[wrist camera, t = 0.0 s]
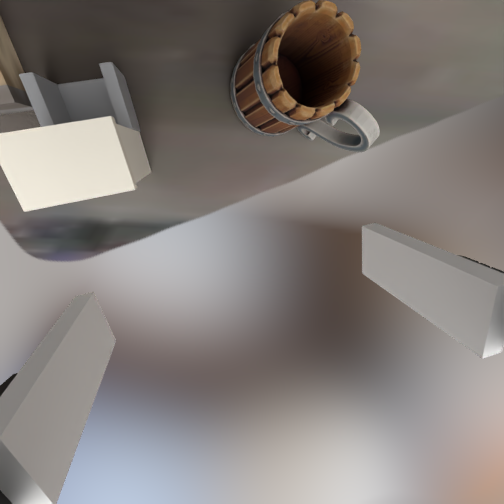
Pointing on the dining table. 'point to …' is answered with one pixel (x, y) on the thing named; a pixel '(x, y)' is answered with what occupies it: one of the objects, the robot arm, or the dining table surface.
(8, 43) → the rail
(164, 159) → the dining table surface
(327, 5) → the mug
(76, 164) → the u-notched block
